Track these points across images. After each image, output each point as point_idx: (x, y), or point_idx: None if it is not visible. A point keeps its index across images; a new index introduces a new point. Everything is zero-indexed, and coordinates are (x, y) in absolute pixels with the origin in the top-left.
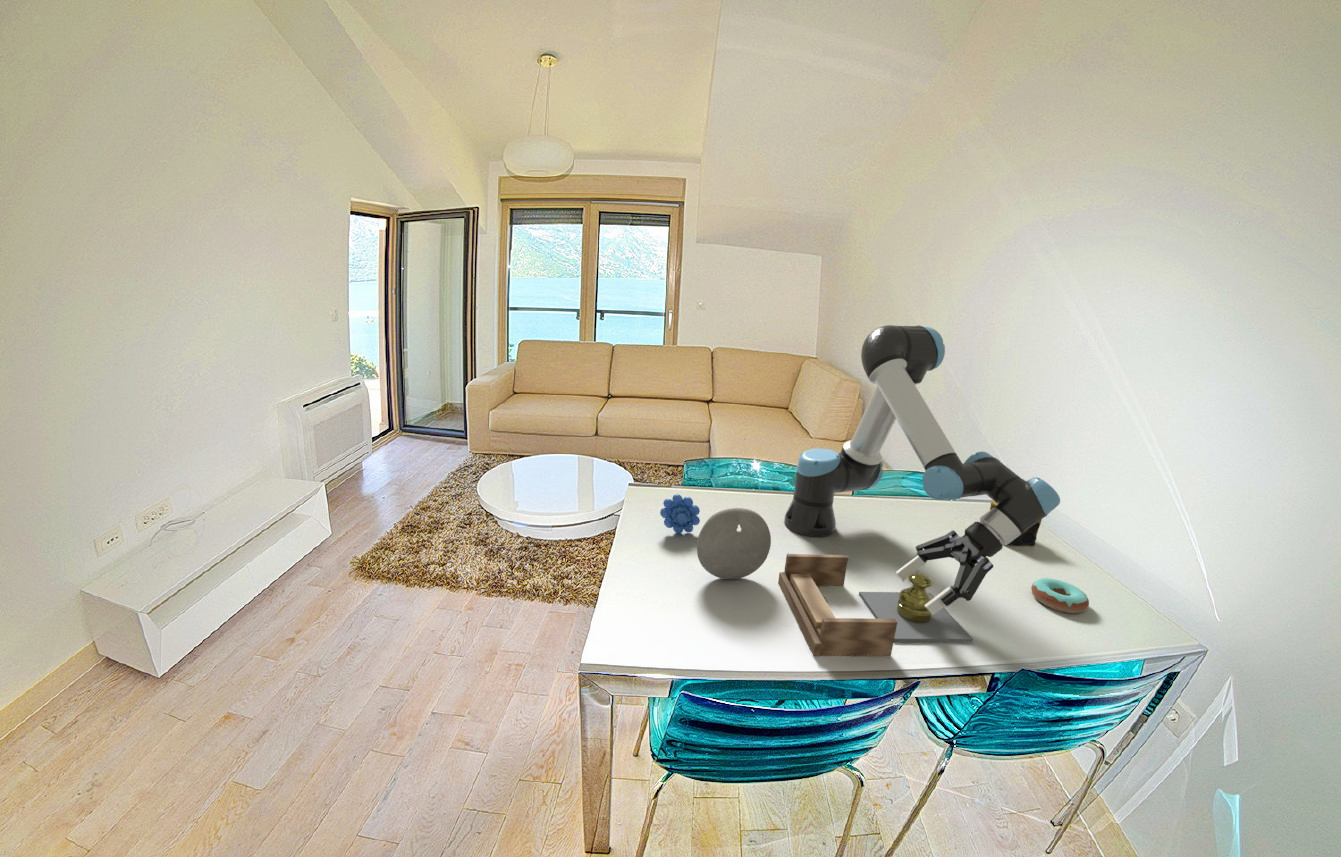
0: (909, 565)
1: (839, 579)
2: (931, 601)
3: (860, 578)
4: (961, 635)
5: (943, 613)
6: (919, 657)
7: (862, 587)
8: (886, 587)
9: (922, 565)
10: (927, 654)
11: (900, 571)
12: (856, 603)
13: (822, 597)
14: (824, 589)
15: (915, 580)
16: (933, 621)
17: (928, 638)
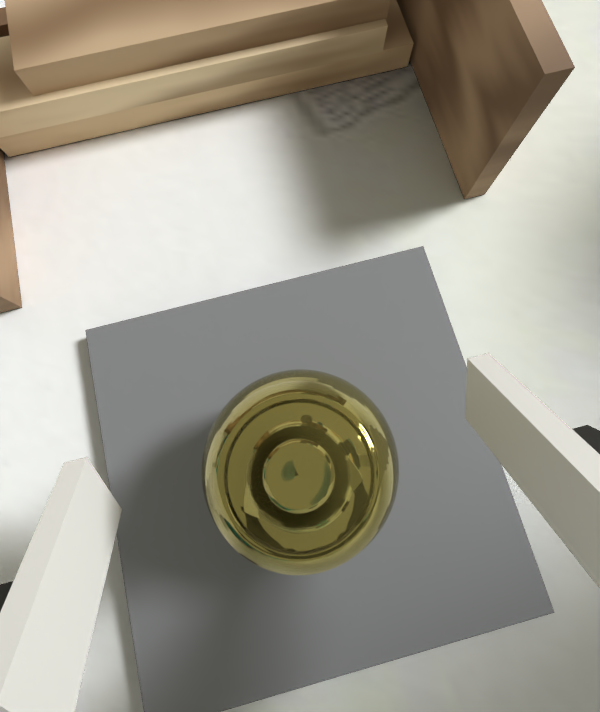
0: (532, 433)
1: (469, 155)
2: (58, 502)
3: (572, 278)
4: (168, 672)
5: (351, 630)
6: (6, 424)
7: (490, 276)
8: (536, 387)
9: (581, 557)
10: (30, 463)
11: (483, 376)
12: (342, 236)
13: (200, 27)
14: (411, 127)
15: (242, 416)
16: None
17: (113, 488)
